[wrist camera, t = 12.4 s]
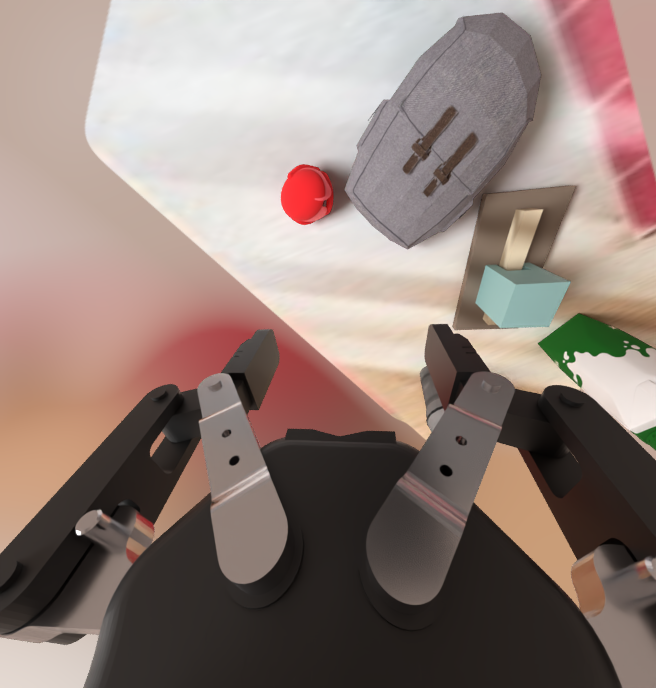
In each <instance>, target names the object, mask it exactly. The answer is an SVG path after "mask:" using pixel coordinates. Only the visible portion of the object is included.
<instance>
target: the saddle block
mask: <svg viewBox="0 0 656 688" xmlns="http://www.w3.org/2000/svg"><path fill="white" fill-rule="evenodd" d="M570 283H571V282H570V281H568V280H566V279H564V278H562V277H560V276H557V275H555V274H553V273H551V272H549V271H547V270H545V269H542V268H540V267H538V266H536V265H534V264H532V263H524V264H523V267H522V270H514V271H506V270H504V269H503V268H501V267H499V266H498V265H486V266H485V270H484V273H483V277H482V281H481V284H480V288H479V292H478V295H477V299H476V304H477V305H478V306H479V307H480V308H481V309H482V310H483V311H484V312H485V313H486V314H487V315H488V316H489V317H490V318H491V319H492V320H493V321H494V322H495V323H496V324H497V325H498V326H499V327H500V328H522V327H549V325H550V323H551V321H552V319H553V317H554V315H555V313H556V311H557V309H558V307H559V305H560V303H561V301H562V299H563V297H564V295H565V293H566V291H567V289H568V287H569V285H570Z"/></svg>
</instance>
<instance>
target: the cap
mask: <svg viewBox="0 0 656 688" xmlns="http://www.w3.org/2000/svg"><path fill="white" fill-rule="evenodd" d="M333 198H334V194H333V188H332V184H331V181H330V179H329V177H328V175H327V174H326V173H325V172H323V171H320V169H319V168H318V167H314V166H310V165H305V164H303V165H299V166H297V167H295V168H294V169H293V170H292V171H291V172H290V173H289V174H288V179H287V180H286V182H285V184H284V186H283V188H282V192H281V203H282V207H283V209H284V211H285V213H286V214H287V215H288V216H289V217H290V218H291V219H292V220H294V221H295V222H297V223H299V224H302V225H307V224H311V223H313V222H315V221H316V220H319V219H321V218H322V217H324V216H325V215H328V214H329V213H330V212H331V209H332V206H333ZM324 200H327V201H326V207H324V206H323V203H324Z"/></svg>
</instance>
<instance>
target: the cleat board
mask: <svg viewBox="0 0 656 688" xmlns="http://www.w3.org/2000/svg"><path fill="white" fill-rule="evenodd" d="M575 187H576V186H559V187H550V188H540V189H530V190H520V191H510V192H500V193H490V194H483V195H482V199H481V204H480V208H479V213H478V217H477V221H476V226H475V230H474V235H473V239H472V243H471V248H470V252H469V256H468V261H467V265H466V270H465V274H464V278H463V283H462V287H461V291H460V296H459V300H458V305H457V309H456V313H455V318H454V322H453V326H452V327H453V328H454V330H472V329H506V328H500V327H499V326H498V325H497V324H496V323H495V322H494V321H493V320H492V319H491V318H490V317H489V316H488V315H487V314H486V313H485V312H484V311H483V310H482V309H481V308H480V307H479V306H478V305H477V304H476V299H477V295H478V292H479V288H480V284H481V281H482V277H483V273H484V270H485V266H486V265H498V266H499V267H501V268H503V269H504V270H506V271H514V270H522V267H523V264H524V263H532V264H534V265H536V266H538V267H540V268H543V266H544V263H545V261H546V258H547V256H548V253H549V251H550V248H551V246H552V244H553V241H554V239H555V236H556V234H557V231H558V229H559V226H560V224H561V221H562V219H563V217H564V214H565V212H566V209H567V207H568V204H569V202H570V199H571V197H572V195H573V192H574V190H575Z"/></svg>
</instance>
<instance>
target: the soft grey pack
mask: <svg viewBox="0 0 656 688" xmlns="http://www.w3.org/2000/svg"><path fill="white" fill-rule="evenodd" d="M540 78H541V73H540V69H539V65H538V62H537V58H536V54H535V50H534V46H533V43H532V39H531V35H529V34H528V33H527V32H526V31H525V30H523V29H522V28H521V27H520V26H518V25H517V24H516V23H515V22H513V21H512V20H511V19H510V18H509V17H507V16H506V15H505V14H504V13H494V14H484V15H475V16H465V17H461V18H458V20H457V22H456V24H455V26H454V27H453V28H452V29H451V30H449V31H448V32H447V33H446V34H445V35H444V36H443V37H442V38H441V39H439V40H438V41H437V42H436V43H435V44H434V45H433V46H432V47H430V48H429V49H428V50H427V51H426V52H425V53H424V54H423V55H421V57H420V58H419V59H418V60H417V62H416V63H415V65H414V66H413V67H412V69H411V70H410V72H409V73H408V75H407V76H406V77H405V79H404V80H403V82H402V83H401V85H400V86H399V88H398V89H397V90H396V92H395V93H394V95H393V96H392V98H391V99H390V100H383V101H382V102H381V104H380V105H379V106H378V108H377V109H376V110H377V111H376V110H375V112H376V113H375V112H374V113H375V115H374V116H373V118H372V120H371V121H370V123H369V125H368V127H367V128H366V130H365V132H364V133H363V135H362V137H361V139H360V140H359V142H358V144H357V149H358V153H357V156H356V159H355V162H354V164H353V167H352V170H351V173H350V175H349V178H348V181H347V184H346V187H345V189H344V190H345V191H346V193H347V195H348V196H349V198H350V199H351V201H352V202H353V204H354V205H355V207H356V208H357V210H358V211H359V212H360V213H361V214H362V215H363V216H364V217H365V218H366V219H367V220H368V221H369V223H370V224H371V225H372V226H373V227H375V228H376V229H377V230H378V231H380V232H381V233H382V234H383V235H384V236H386V237H387V238H388V239H389V240H391V241H393V242H395V243H396V244H398V245H400V246H402V247H404V248H406V249H409V248H411V247H413V246H415V245H416V244H418V243H420V242H422V241H424V240H425V239H427V238H429V237H431V236H432V235H434V234H436V233H438V232H440V231H441V232H444V231H445V230H446V229H447V228H449V227H450V226H451V225H452V224H453V223H454V222H455V221H456V220H457V219H458V218H460V217H461V216H462V215H463V214H464V213H465V212H466V211H467V210H468V209H469V208H470V207H471V206H472V205H473V198H474V197H475V196H476V195H477V194H478V193H479V192H480V191H481V190H482V189H483V187H484V186H485V185H486V184H487V183H488V182H489V181H490V180H491V179H492V178H493V176H494V175H495V174H496V173H497V172H498V171H499V170H500V169H501V168H502V167H503V165H504V164H505V163H506V161H507V159H508V157H509V156H510V154H511V152H512V150H513V149H514V147H515V145H516V143H517V142H518V140H519V138H520V136H521V135H522V133H523V131H524V130H525V128H526V126H527V124H528V123H529V122H530V121H533V116H534V110H535V105H536V100H537V94H538V89H539V84H540ZM374 113H373V114H374ZM373 114H372V115H373ZM371 117H372V116H371ZM371 117H370V118H371ZM370 118H369V119H370Z"/></svg>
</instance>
